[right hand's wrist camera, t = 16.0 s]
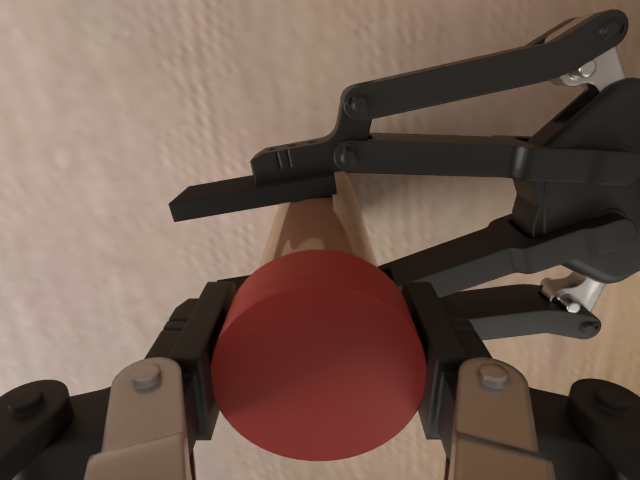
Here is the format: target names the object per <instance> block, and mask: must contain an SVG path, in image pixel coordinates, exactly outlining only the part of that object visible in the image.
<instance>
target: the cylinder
mask: <svg viewBox="0 0 640 480" xmlns="http://www.w3.org/2000/svg"><path fill="white" fill-rule="evenodd" d="M334 175H335V182H336V188H337V194H335V195H329V196H323V197H318V198H311V199H306V200H300V201H294V202H288V203H283V204H279V206H278V210H277V213H276V216H275V219H274V223H273V226H272V229H271V232H270V235H269V239H268V242H267V245H266V248H265V252H264V255H263V258H262V261H261V264H260V267H262V266H263V265H265V264H266V263H268V262H270V261H272V260H274V259H276V258H278V257H281V256H284V255H287V254H290V253H294V252H299V251H305V250H332V251H340V252H344V253H347V254H351V255H354V256H357V257H359V258H362V259H364V260H366V261H368V262H369V263H371V264H373V265H375V266H376V267H377V268H378V265H377V262H376V259H375V256H374V252H373V249H372V246H371V243H370V239H369V236H368V233H367V230H366V226H365V223H364V220H363V217H362V213H361V210H360V207H359V204H358V200H357V197H356V194H355V191H354V187H353V184H352V181H351V179H350V177H349V176H348V174H347V173H346V172H343V171H340V172H334Z"/></svg>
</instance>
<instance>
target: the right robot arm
mask: <svg viewBox="0 0 640 480" xmlns="http://www.w3.org/2000/svg"><path fill="white" fill-rule="evenodd" d="M401 293H402V295H403V297H404V299H405V301H406V304H407V306H408V309H409V312H410V314H411V317H412V320H413V322H414V325H415V327H416V330H417V333H418V335H419V338H420V341H421V343H422V346H423V349H424V352H425V355H426V360H427V370H426V379H425V388H424V395H423V400H422V402H421V404H420V406H419V408H418V412H419V416H420V419H421V422H422V426H423V429H424V433H425V436H426V439H441V441H442V444H443V447H444V450H445V453H446V458H445V466H444V477H443V480H640V397H639V396H638V395H636V394H635V393H633V392H632V391H630V390H628V389H626V388H624V387H622V386H620V385H617V384H615V383H612V382H608V381H605V380H600V379H581V380H578V381H576V382H574V383H573V385H572V386H571V389H570V393H569V396H564V395H560V394H555V393H551V392H546V391H542V390H537V389H533V388H530V387H529V386H528V382H527V380H526V378H525V377H524V376H523V374H522V373H521V372H519V371H518V370H517V369H516V368H514V367H513V366H511V365H509V364H507V363H505V362H502V361H500V360H496V359H493V358H492V357H491V355H490V353H489V352H488V350H487V348H486V347H485V345H484V343H483V342H482V340H481V338H480V337H479V335H478V334H477V332H476V330H474V327H473V325H472V324H471V322H470V321H469V320H468V317H467V315H466V314H465V312H464V311H463V309H462V307H460V306H459V305H457V304H456V303H455V302H453V301H452V300H451V299H449V298H439V297H438V296H437V294H436V292H435V290H434V288H433V286H432V284H431V283H430V282H403V285H402V292H401ZM235 295H236V286H235V283H234V282H208V283H207V284H206V286H205V288H204V290H203V292H202V293H201V295H200V297H199V299H188V300H186V301H185V302H184V303H182V304H181V305H179V306H178V307H177V308H176V309H175V310H174V312H173V313H172V315H171V317H170V318H169V321H168V322H167V323H166V325H165V326H164V328H163V331H161V333H160V335H159V336H158V338H157V339H156V341H155V343H154V344H153V346H152V347H151V349H150V351H149V352H148V354H147V356H146V357H145V359H144V360H140V361H138V362H135V363H133V364H131V365H129V366H127V367H126V368H124V369H123V370H122V371H121V372H119V373H118V374H117V376H116V377H115V378H114V380H113V382H112V386H111V387H108V388H106V389H102V390H98V391H94V392H89V393H85V394H80V395H75V396H71V397H70V396H69V392H68V389H67V386H66V385H65V384H64V383H62V382H60V381H57V380H40V381H35V382H31V383H27V384H24V385H22V386H19V387H17V388H15V389H13V390H11V391H9V392H7V393H5V394H4V395H3V396H1V397H0V480H197V477H196V466H195V458H194V452H193V448H194V445H195V442H196V440H211V438H212V434H213V431H214V428H215V424H216V421H217V418H218V414H219V411H220V409H219V407H218V405H217V403H216V400H215V398H214V392H213V384H212V376H211V358H212V354H213V350H214V347H215V344H216V342H217V339H218V337H219V334H220V332H221V329H222V326H223V324H224V321H225V319H226V316H227V313H228V311H229V308H230V306H231V303H232V301H233V298H234V296H235Z"/></svg>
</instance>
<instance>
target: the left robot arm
mask: <svg viewBox="0 0 640 480" xmlns="http://www.w3.org/2000/svg"><path fill="white" fill-rule="evenodd" d="M627 30H628V18H627V17H626V15H625V13H623V12H622V11H620V10H608V11H603V12H599V13H594V14H590V15H585V16H581V17H576V18H572V19H569V20H566V21H564V22H562V23H561V24H559V25H558V26H556V27H554V28H553V29H551V30H550V31H548V32H546V33H545V34H543V35H541V36H540V37H538V38H537V39H535V40H533V41H532V42H530V43H528V44H527V45H525V46H523V47H519V48H514V49H510V50H506V51H501V52H497V53H492V54H488V55H483V56H479V57H474V58H470V59H465V60H461V61H457V62H452V63H448V64H443V65H439V66H434V67H430V68H425V69H421V70H417V71H412V72H408V73H403V74H399V75H394V76H390V77H385V78H381V79H377V80H372V81H368V82H363V83H359V84H354V85H351V86H349V87H347V88H346V89H345V90H344V91H343V92H342V95H341V98H340V107H339V112H338V117H337V122H336V126H335V128H334V129H333V131H332V132H331V133H330V134H329V135H327V136H326V137H323V138H318V139H313V140H307V141H302V142H296V143H291V144H285V145H280V146H274V147H269V148H265V149H264V150H262V151H260V152H259V153H257V154H256V155H255V156H254V157H253V158H252V160H251V161H250V163H251V167H252V171H253V175H251V176H246V177H240V178H234V179H229V180H223V181H217V182H212V183H206V184H200V185H195V186H189V187H188V188H187V189H185V190H184V191H183V192H182V193H181V194H180V195H178V196H177V197H176V198H175V199H174V200H173V201H171V202H170V203H169V207H170V210H171V213H172V216H173V219H174V222H177V221H183V220H189V219H195V218H201V217H207V216H212V215H218V214H224V213H230V212H236V211H242V210H247V209H253V208H259V207H265V206H271V205H277V204H283V203H288V202H294V201H300V200H306V199H311V198H318V197H323V196H329V195H335V194H337V188H336V182H335V175H334V172H340V171H343V172H348V173H376V174H409V175H442V176H475V177H507V178H513V181H514V185H515V188H516V191H517V196H516V199H515V203H514V207H513V210H512V214H509V215H507V216H504V217H501V218H498V219H496V220H493V221H492V222H490V224H489V226H488V227H487V228H484V229H482V230H479V231H476V232H473V233H470V234H468V235H465V236H462V237H459V238H456V239H454V240H451V241H448V242H445V243H442V244H440V245H437V246H434V247H431V248H428V249H425V250H423V251H420V252H417V253H414V254H411V255H409V256H406V257H403V258H400V259H397V260H395V261H392V262H389V263H386V264H383V265H381V266H378V268H379V269H380V270H381V271H383V272H384V273H385V274H386V275H387V276H388V277H389V278H390V279H391V280H392V281H393V282H394V283H395V285H396V286H397V287H398V289H399V290H400V292H402V285H403V282H430V283H431V284H432V286H433V288H434V290H435V292H436V294H437V296H438V297H439V298H449V299H451V300H452V301H453V302H455V303H456V304H457V305H459V306H460V307H462V309H463V311H464V312H465V314H466V315H467V317H468V320H469V321H470V322H471V324H472V325H473V327H474V330H476V332H477V334H478V335H479V337H480V338H481V340H489V339H497V338H506V337H514V336H523V335H531V334H540V333H551V334H557V335H562V336H567V337H573V338H578V339H589V338H592V337H594V336H595V335H597V333H598V332H599V331H600V329H601V322H600V320H599V319H598V318H597V317H596V316H595V315H593V314H592V313H591V311H592V309H593V307H594V306H595V304H596V302H597V300H598V298H599V296H600V294H601V292H602V290H603V288H604V286H605V285H606V283H615V282H619V281H622V280H624V279H626V278H627V277H629V276H631V275H632V274H634V273H636V272H638V271H640V79H638V78H626V76H625V73H624V70H623V66H622V63H621V60H620V57H619V54H618V51H617V48H616V45H618V44H619V43H620V42H621V41H622V40H623V38H624V37H625V35H626V33H627ZM548 80H549V81H550V82H551V83H552V84H554V85H557V86H577V85H581V86H582V87H583V88H584V89H585V91H583V92H582V93H581V94H580V95H579V96H578V97H577V98H575V99H574V100H573V101H572V102H571V103H570V104H569V105H568V106H566V107H565V108H564V109H563V110H562V111H561V112H560V113H558V114H557V115H556V116H555V117H554V118H553V119H552V120H551V121H549V122H548V123H547V124H546V125H545V126H544V127H543V128H541V129H540V130H539V131H538V132H537V133H536V134H535V135H534V136H499V135H496V136H491V137H485V136H454V135H422V134H390V133H369V131H370V126H371V121H372V119H375V118H379V117H384V116H389V115H393V114H398V113H402V112H407V111H412V110H416V109H421V108H425V107H430V106H435V105H439V104H444V103H448V102H453V101H458V100H462V99H467V98H471V97H476V96H480V95H485V94H490V93H494V92H499V91H503V90H508V89H513V88H517V87H522V86H526V85H531V84H536V83H540V82H544V81H548ZM557 265H562V266H564V267H567V268H569V269H571V270H573V272H572V273H571V274H570V275H569V276H567V277H566V278H562V279H553V280H552V279H551V278H545V279H543V280H542V281H541V284H540V286H539V285H532V284H519V285H508V286H500V287H492V288H484V289H476V290H468V291H461V290H464V289H467V288H470V287H473V286H476V285H479V284H482V283H485V282H488V281H491V280H494V279H497V278H500V277H503V276H506V275H509V274H512V273H523V274H532V273H536V272H539V271H542V270H545V269H548V268H551V267H554V266H557ZM249 276H250V275H248V276H242V277H235V278H229V279H223V280H217V282H234V283H235V286H236V293H237V291H238V290H239V288H240V287H241V285H242V284H243V283H244V282H245V281H246V279H247V278H248V277H249ZM459 291H460V292H459Z"/></svg>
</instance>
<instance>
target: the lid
mask: <svg viewBox="0 0 640 480" xmlns="http://www.w3.org/2000/svg"><path fill="white" fill-rule="evenodd" d="M426 370H427V360H426V355H425V352H424V349H423V346H422V343H421V341H420V338H419V335H418V333H417V330H416V327H415V325H414V322H413V320H412V317H411V314H410V312H409V309H408V306H407V304H406V301H405V299H404V297H403V295H402V293H401V292H400V290H399V289H398V287H397V286H396V285H395V283H394V282H393V281H392V280H391V279H390V278H389V277H388V276H387V275H386V274H385V273H384V272H383V271H381V270H380V269H379V268H377V267H376V266H375V265H373V264H371V263H369V262H368V261H366V260H364V259H362V258H359V257H357V256H354V255H351V254H347V253H344V252H340V251H332V250H305V251H299V252H294V253H290V254H287V255H284V256H281V257H278V258H276V259H274V260H272V261H270V262H268V263H266V264H265V265H263V266H262V267H260V268H259V269H257V270H256V271H255V272H254V273H253V274H252V275H250V276H249V277H248V278H247V279H246V281H245V282H244V283H243V284H242V285H241V287H240V288H239V290H238V291H237V293H236V295H235V296H234V298H233V301H232V303H231V306H230V308H229V311H228V313H227V316H226V319H225V321H224V324H223V326H222V329H221V332H220V334H219V337H218V339H217V342H216V344H215V347H214V350H213V354H212V358H211V376H212V384H213V392H214V398H215V400H216V403H217V405H218V407H219V409H220V411H221V412H222V414H223V416H224V417H225V418H226V420H227V421H228V422H229V423H230V424H231V426H232V427H233V428H234V429H235V430H236V431H238V432H239V433H240V434H241V435H242V436H243V437H245V438H246V439H248V440H249V441H250V442H252V443H254V444H255V445H257V446H259V447H261V448H263V449H265V450H267V451H270V452H272V453H275V454H278V455H281V456H284V457H288V458H293V459H298V460H307V461H330V460H339V459H345V458H350V457H353V456H357V455H360V454H363V453H365V452H368V451H370V450H373V449H375V448H377V447H379V446H380V445H382V444H384V443H386V442H387V441H389V440H390V439H391V438H393V437H394V436H395V435H397V434H398V433H399V432H400V431H401V430H402V429H403V428H404V427H405V426H406V425H407V424H408V423H409V422H410V420H411V419H412V418H413V416H414V415H415V413H416V412H417V410H418V408H419V406H420V404H421V402H422V400H423V395H424V388H425V379H426Z"/></svg>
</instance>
